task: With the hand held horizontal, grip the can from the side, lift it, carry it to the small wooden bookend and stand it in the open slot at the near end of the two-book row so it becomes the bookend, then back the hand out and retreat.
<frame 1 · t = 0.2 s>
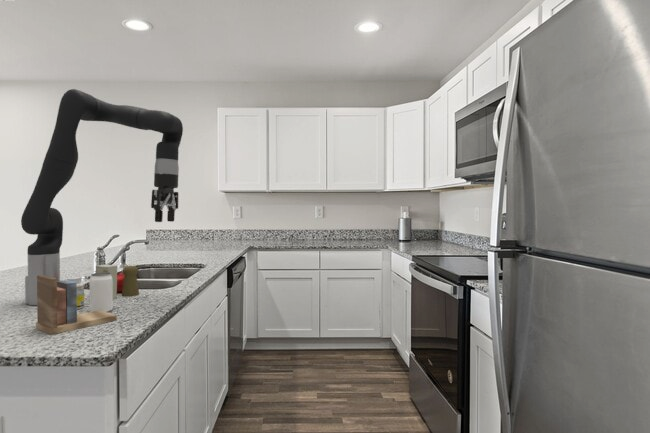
hand: (164, 221, 136), 29 cm above the countertop, tool pointing down, fingers open, 8 cm apart
can: (101, 311, 131), on the countertop
wooden bookend: (93, 320, 120), on the countertop
supplement bottle: (74, 309, 134), on the countertop
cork: (130, 295, 155), on the countertop
skincare box: (106, 298, 149), on the countertop
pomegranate: (115, 292, 160), on the countertop
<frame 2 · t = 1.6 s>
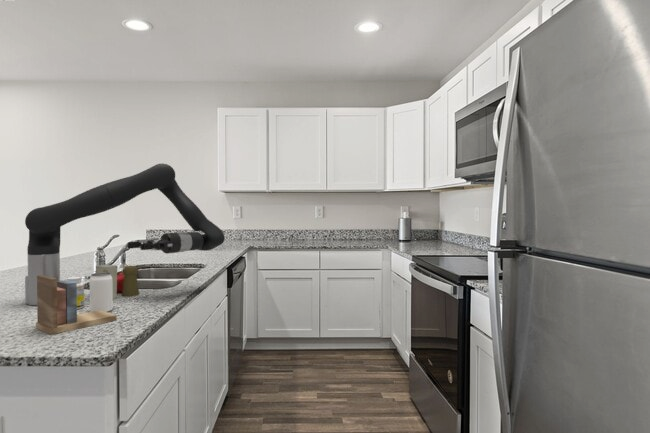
hand: (134, 246, 139), 20 cm above the countertop, tool horizontal, fingers open, 8 cm apart
nothing on the countertop moved.
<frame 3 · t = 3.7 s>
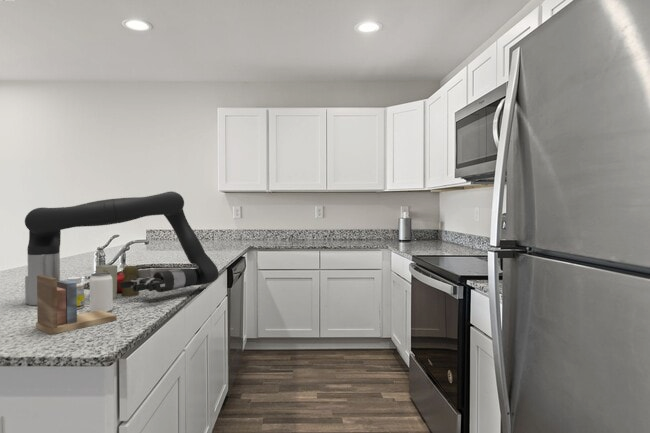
hand: (126, 287, 137), 6 cm above the countertop, tool horizontal, fingers open, 8 cm apart
nothing on the countertop moved.
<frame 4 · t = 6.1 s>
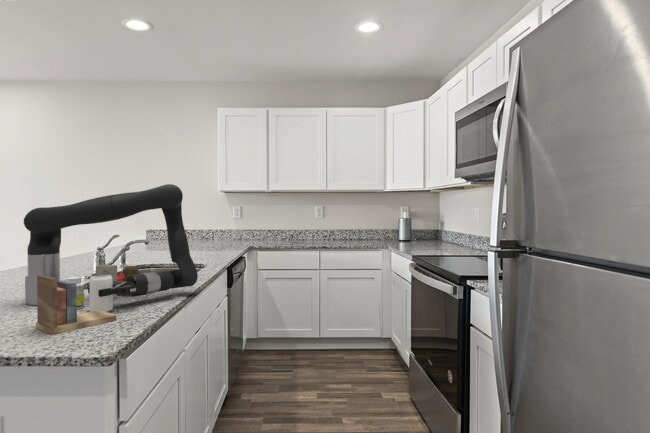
hand: (93, 292, 129), 7 cm above the countertop, tool horizontal, fingers closed on can, 6 cm apart
can: (101, 311, 131), on the countertop, touching gripper
everything else where it was.
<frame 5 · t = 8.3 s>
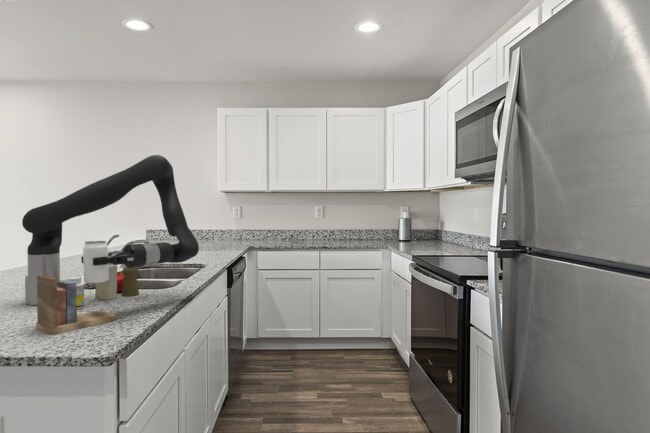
hand: (87, 260, 119), 18 cm above the countertop, tool horizontal, fingers closed on can, 6 cm apart
can: (96, 282, 121), point 11 cm above the countertop, touching gripper
everything else where it was.
when the fingers open (9 cm above the countertop, at t = 10.6 s): can drops 1 cm, resting on wooden bookend.
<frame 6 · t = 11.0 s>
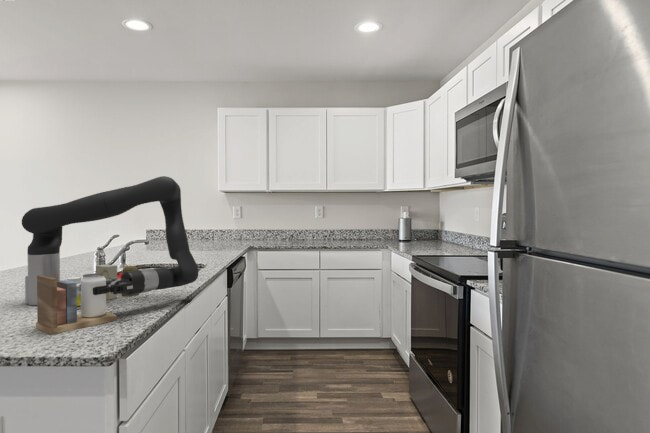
hand: (86, 289, 118), 10 cm above the countertop, tool horizontal, fingers open, 8 cm apart
can: (93, 315, 120), point 1 cm above the countertop, touching wooden bookend
everything else where it was.
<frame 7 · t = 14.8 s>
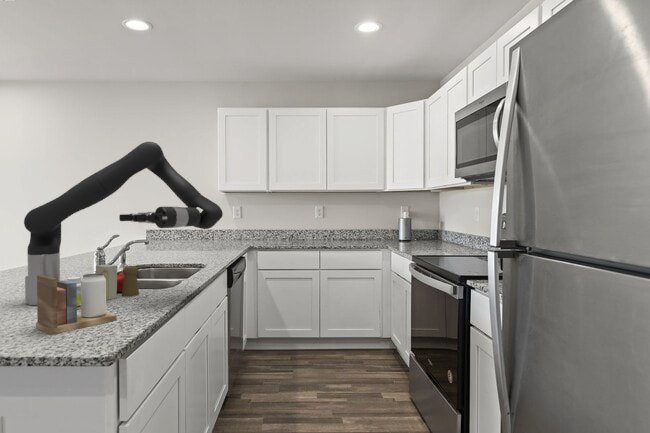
hand: (126, 218, 130), 30 cm above the countertop, tool horizontal, fingers open, 8 cm apart
nothing on the countertop moved.
at the end: can 0.3 cm from the wooden bookend (horizontally); can tilted 0°; can touching wooden bookend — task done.
